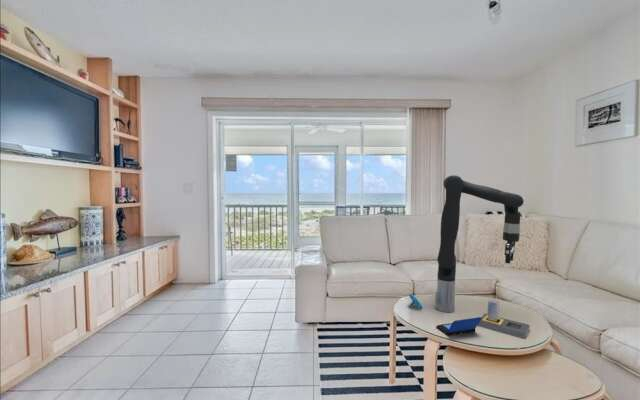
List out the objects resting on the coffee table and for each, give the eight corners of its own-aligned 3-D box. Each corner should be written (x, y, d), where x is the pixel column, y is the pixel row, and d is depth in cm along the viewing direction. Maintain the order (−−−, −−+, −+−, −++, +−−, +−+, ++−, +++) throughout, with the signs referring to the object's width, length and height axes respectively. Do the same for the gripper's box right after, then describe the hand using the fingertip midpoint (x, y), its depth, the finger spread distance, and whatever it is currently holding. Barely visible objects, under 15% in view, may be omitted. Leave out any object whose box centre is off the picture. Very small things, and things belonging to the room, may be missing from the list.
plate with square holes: (477, 325, 156) (477, 320, 156) (484, 318, 165) (484, 313, 165) (525, 338, 142) (525, 333, 142) (529, 330, 151) (529, 324, 151)
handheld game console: (462, 324, 158) (462, 306, 157) (482, 336, 145) (482, 317, 145) (435, 327, 154) (435, 309, 153) (453, 340, 141) (454, 320, 140)
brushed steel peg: (487, 325, 157) (488, 301, 156) (489, 322, 160) (490, 299, 159) (496, 327, 154) (497, 303, 153) (498, 324, 157) (499, 301, 156)
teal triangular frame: (423, 309, 172) (410, 294, 175) (415, 316, 173) (402, 301, 176) (423, 305, 182) (411, 291, 185) (416, 311, 183) (404, 297, 186)
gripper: (505, 229, 174) (503, 258, 175) (500, 232, 163) (498, 262, 164) (521, 231, 169) (519, 261, 170) (517, 234, 158) (514, 265, 159)
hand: (509, 261), depth 167 cm, fingers open, 8 cm apart
